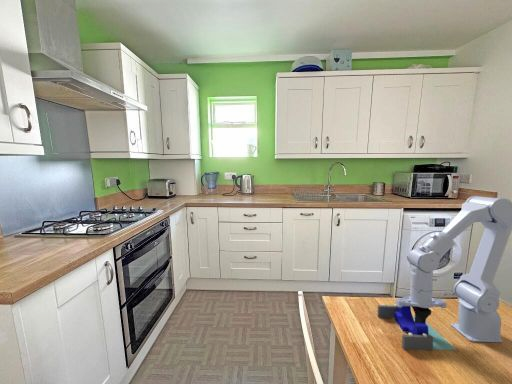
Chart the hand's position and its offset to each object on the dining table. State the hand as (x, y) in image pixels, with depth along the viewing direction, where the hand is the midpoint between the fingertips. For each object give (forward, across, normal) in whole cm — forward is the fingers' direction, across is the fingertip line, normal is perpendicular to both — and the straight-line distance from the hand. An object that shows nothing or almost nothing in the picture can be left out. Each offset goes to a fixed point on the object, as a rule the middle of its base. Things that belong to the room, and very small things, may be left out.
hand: (419, 327), depth 73 cm
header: (+1, +6, 0) cm, 6 cm away
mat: (+1, -1, 0) cm, 2 cm away
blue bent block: (+1, +3, 0) cm, 3 cm away
